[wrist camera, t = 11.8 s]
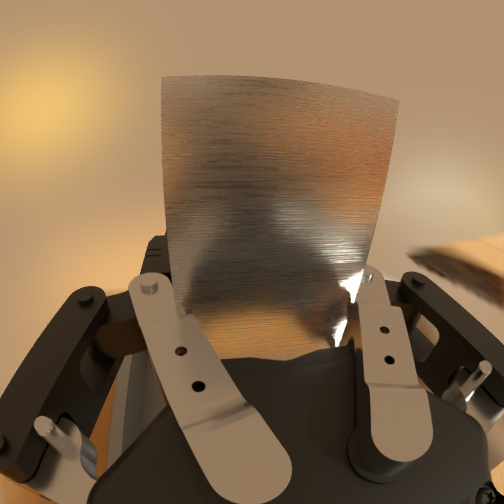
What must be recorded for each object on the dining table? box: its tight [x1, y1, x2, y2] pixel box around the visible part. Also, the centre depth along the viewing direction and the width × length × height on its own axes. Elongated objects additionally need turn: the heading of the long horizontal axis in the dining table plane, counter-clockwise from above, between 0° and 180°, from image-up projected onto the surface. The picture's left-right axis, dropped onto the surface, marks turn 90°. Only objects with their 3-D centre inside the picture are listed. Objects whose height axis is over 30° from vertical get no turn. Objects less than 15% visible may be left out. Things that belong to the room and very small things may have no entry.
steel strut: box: [161, 75, 399, 361], centre depth 11 cm, size 5×5×14 cm
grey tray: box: [106, 351, 166, 471], centre depth 16 cm, size 14×14×4 cm
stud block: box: [416, 315, 504, 471], centre depth 16 cm, size 12×16×6 cm
